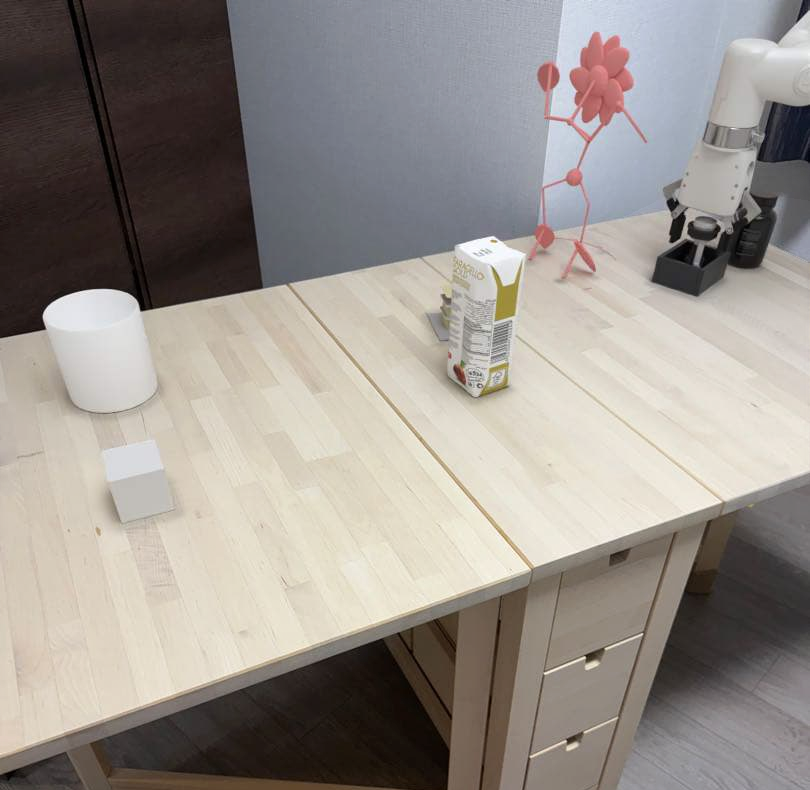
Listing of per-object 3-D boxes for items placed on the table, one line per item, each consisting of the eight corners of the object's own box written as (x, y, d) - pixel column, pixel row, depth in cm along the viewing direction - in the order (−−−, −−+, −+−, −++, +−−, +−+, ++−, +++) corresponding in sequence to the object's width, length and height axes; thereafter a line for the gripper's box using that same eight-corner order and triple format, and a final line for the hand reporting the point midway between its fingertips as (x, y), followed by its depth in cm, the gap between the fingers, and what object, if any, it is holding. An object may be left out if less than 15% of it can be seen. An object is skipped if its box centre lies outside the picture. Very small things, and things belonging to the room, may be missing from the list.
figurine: (593, 297, 126) (641, 55, 101) (497, 245, 141) (519, 23, 117) (656, 276, 132) (715, 43, 108) (558, 228, 147) (590, 15, 123)
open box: (723, 276, 132) (731, 251, 129) (697, 296, 126) (704, 271, 123) (678, 263, 136) (685, 238, 133) (651, 281, 130) (657, 256, 127)
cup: (121, 359, 109) (99, 280, 101) (175, 385, 104) (157, 304, 96) (52, 394, 102) (22, 313, 94) (107, 423, 97) (81, 340, 89)
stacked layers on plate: (439, 340, 114) (441, 307, 111) (426, 313, 121) (427, 281, 117) (502, 334, 116) (505, 301, 112) (485, 308, 122) (488, 276, 118)
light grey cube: (175, 509, 85) (164, 468, 81) (121, 523, 84) (107, 482, 79) (165, 479, 89) (154, 438, 85) (114, 491, 88) (100, 450, 83)
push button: (670, 267, 134) (686, 210, 127) (701, 269, 133) (718, 212, 126) (676, 283, 129) (692, 225, 122) (707, 285, 128) (725, 227, 121)
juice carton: (474, 403, 102) (486, 268, 89) (439, 374, 107) (446, 243, 94) (517, 387, 105) (535, 255, 92) (481, 360, 110) (493, 231, 97)
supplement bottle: (769, 263, 136) (793, 195, 128) (745, 272, 134) (769, 203, 125) (738, 250, 141) (760, 184, 132) (714, 259, 138) (735, 191, 129)
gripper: (794, 141, 113) (755, 255, 125) (687, 119, 121) (660, 228, 134) (775, 152, 109) (736, 269, 121) (666, 128, 117) (640, 240, 129)
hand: (697, 247), depth 127 cm, fingers open, 7 cm apart
